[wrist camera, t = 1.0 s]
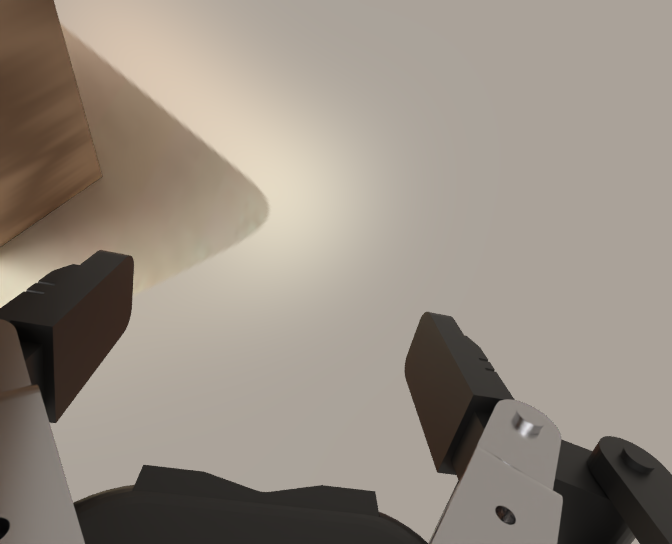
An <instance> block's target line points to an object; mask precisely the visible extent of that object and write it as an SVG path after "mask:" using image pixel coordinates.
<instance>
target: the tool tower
mask: <svg viewBox="0 0 672 544" xmlns="http://www.w3.org/2000/svg"><path fill="white" fill-rule="evenodd" d="M101 177H102V174H101V170H100V166H99V163H98V159H97V156H96V152H95V148H94V145H93V141H92V138H91V134H90V130H89V127H88V123H87V120H86V116H85V112H84V109H83V105H82V101H81V98H80V94H79V91H78V87H77V83H76V80H75V76H74V73H73V69H72V65H71V62H70V58H69V55H68V51H67V47H66V44H65V40H64V36H63V33H62V29H61V26H60V22H59V18H58V15H57V11H56V8H55V4H54V0H0V247H1V246H3V245H4V244H5V243H7V242H8V241H10V240H11V239H13V238H14V237H16V236H17V235H18V234H20V233H21V232H23V231H24V230H26V229H27V228H29V227H30V226H32V225H33V224H34V223H36V222H37V221H39V220H40V219H42V218H43V217H45V216H46V215H47V214H49V213H50V212H52V211H53V210H55V209H56V208H58V207H59V206H61V205H62V204H63V203H65V202H66V201H68V200H69V199H71V198H72V197H74V196H75V195H76V194H78V193H79V192H81V191H82V190H84V189H85V188H87V187H88V186H90V185H91V184H92V183H94V182H95V181H97V180H98V179H100V178H101Z"/></svg>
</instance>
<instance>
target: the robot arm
mask: <svg viewBox="0 0 672 544" xmlns="http://www.w3.org/2000/svg"><path fill="white" fill-rule="evenodd" d="M133 274H134V261H133V258H132V256H129V255H124V254H119V253H114V252H108V251H103V250H99V251H97V252H96V253H95V254H93V255H92V256H91V257H90V258H88V259H87V260H86V261H84V262H83V263H82V264H81V265H75V264H72V265H69V266H66V267H63V268H60V269H57V270H54V271H52V272H50V273H49V274H47V275H46V276H45V277H43V278H42V279H41V280H39V281H38V283H35V284H34V285H32V286H31V287H29V288H28V289H27V291H26V292H22V293H21V294H20V295H18V296H17V297H16V298H14V299H13V300H11V301H10V302H9V303H7V304H6V305H4V306H3V307H2V308H0V544H631V543H632V542H633V540H634V539H635V538H636V539H637V540H638V542H639V543H640V544H672V475H671V474H670V472H669V471H668V470H667V469H666V468H665V467H664V466H663V465H662V464H661V463H660V462H659V461H658V460H657V459H656V458H654V457H653V456H652V455H651V454H649V453H648V452H646V451H645V450H643V449H642V448H640V447H638V446H637V445H635V444H633V443H631V442H629V441H626V440H623V439H621V438H617V437H611V436H606V437H603V438H601V439H600V441H599V442H598V444H597V445H596V447H595V449H594V450H593V451H590V450H588V449H585V448H582V447H580V446H577V445H574V444H572V443H569V442H566V441H564V440H561V434H560V432H559V430H558V428H557V427H556V425H555V424H554V423H553V422H552V421H551V420H550V419H549V418H548V417H547V416H546V415H544V414H543V413H542V412H540V411H539V410H537V409H535V408H534V407H532V406H530V405H528V404H525V403H523V402H520V401H516V400H514V398H513V397H512V395H511V394H510V392H509V391H508V389H507V388H506V386H505V385H504V383H503V382H502V380H501V379H500V377H499V376H498V374H497V373H496V372H494V368H493V366H492V365H491V363H490V362H488V359H487V357H486V356H485V354H484V353H483V351H482V350H481V348H480V347H479V346H478V345H476V344H475V343H474V342H473V341H472V340H471V339H469V338H468V337H467V336H464V335H463V333H462V331H461V330H460V328H459V327H458V325H457V323H456V322H455V320H454V319H453V318H452V317H451V316H446V315H441V314H435V313H430V312H425V313H424V314H423V315H422V317H421V319H420V322H419V325H418V327H417V330H416V333H415V335H414V338H413V341H412V343H411V346H410V349H409V352H408V354H407V357H406V362H405V377H406V381H407V384H408V387H409V390H410V393H411V396H412V399H413V402H414V404H415V408H416V411H417V414H418V416H419V420H420V422H421V425H422V428H423V431H424V434H425V437H426V440H427V443H428V446H429V449H430V452H431V455H432V458H433V461H434V464H435V467H436V470H437V472H438V473H445V474H453V475H457V477H458V480H459V481H458V483H457V485H456V486H455V488H454V491H453V493H452V495H451V497H450V499H449V501H448V503H447V505H446V507H445V510H444V512H443V514H442V516H441V518H440V520H439V522H438V524H437V526H436V528H435V531H434V533H433V534H432V537H431V539H430V541H429V543H427V542H426V541H424V539H423V538H421V536H419V535H418V534H417V533H415V532H414V531H413V530H411V529H410V528H409V527H407V526H406V525H404V524H402V523H401V522H399V521H398V520H396V519H394V518H392V517H390V516H388V515H386V514H383V513H381V512H378V506H377V500H376V494H375V491H366V490H358V489H349V488H340V487H331V486H323V485H321V486H314V487H305V488H297V489H289V490H281V491H274V492H260V491H256V490H253V489H250V488H248V487H245V486H242V485H239V484H236V483H234V482H231V481H228V480H225V479H223V478H220V477H217V476H214V475H212V474H209V473H206V472H201V471H193V470H184V469H175V468H166V467H158V466H149V465H143V467H142V470H141V472H140V474H139V477H138V479H137V481H136V483H135V485H130V486H123V487H119V488H114V489H110V490H106V491H103V492H100V493H97V494H94V495H91V496H88V497H86V498H84V499H81V500H79V501H76V502H74V503H73V501H72V498H71V494H70V491H69V488H68V485H67V481H66V477H65V474H64V471H63V467H62V464H61V461H60V457H59V454H58V450H57V447H56V444H55V440H54V437H53V433H52V430H51V427H50V423H49V422H51V423H56V422H57V421H58V419H59V418H60V417H61V416H62V414H63V413H64V412H65V410H66V409H67V408H68V406H69V405H70V404H71V402H72V401H73V400H74V398H75V397H76V395H77V394H78V393H79V391H80V390H81V389H82V387H83V386H84V385H85V384H86V382H87V381H88V380H89V378H90V377H91V376H92V374H93V373H94V372H95V370H96V369H97V368H98V366H99V365H100V363H101V362H102V361H103V360H104V358H105V357H106V356H107V354H108V353H109V352H110V350H111V349H112V348H113V346H114V345H115V344H116V342H117V341H118V340H119V338H120V337H121V336H122V334H123V333H124V331H125V330H126V327H127V325H128V323H129V320H130V316H131V310H132V293H133Z"/></svg>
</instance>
